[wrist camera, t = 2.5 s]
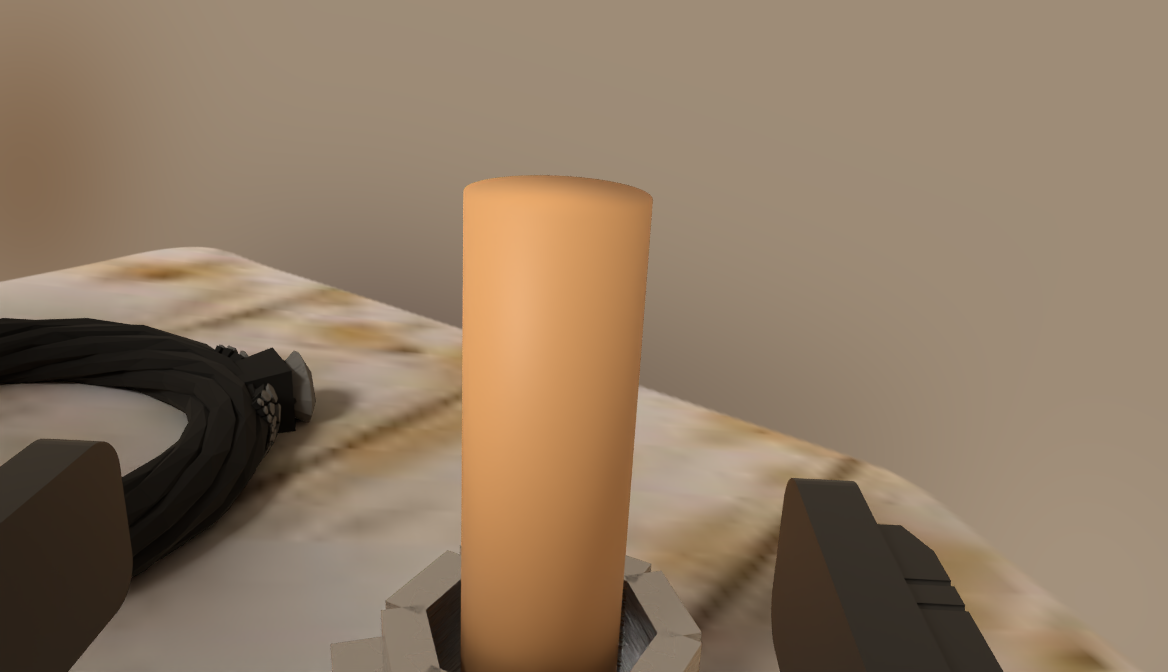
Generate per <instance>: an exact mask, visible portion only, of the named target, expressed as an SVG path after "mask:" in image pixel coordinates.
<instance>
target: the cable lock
mask: <svg viewBox="0 0 1168 672" xmlns="http://www.w3.org/2000/svg"><path fill="white" fill-rule="evenodd" d="M47 380H53V381H68V382H79V383H84V384H89V385H102V386H122V387H128V388H131V389H135V390H138V391H139V392H141V393H144V394H146V395H149V396H151V397H154V398H156V399H159V400H161V401H164V402H166V403H169V404H171V405H173V406H175V407H176V408H178V409H180V410H181V411H183V412H185V413H186V415H187V418H188V424H187V426H186V428H185V430H184V432H183V433H182V435H181V437H180V439H179V441H177V442H176V443H175V444H174V445H172V446H171V447H170V448H169V449H167V450H166V451H165V452H163V453H162V454H161V455H160V456H158V457H156V458H155V459H153V460H151V461H149V462H148V463H146V464H144V465H143V466H141V467H139V468H137V469H136V470H134V471H132V472H131V473H129V474H127V475H125V476H124V477H122V484H123V491H124V498H125V505H126V512H127V520H128V527H129V534H130V541H131V548H132V557H133V568H132V576H131V577H133V576H135V575H137V574H139V573H141V572H142V571H144V570H146V569H147V568H148V567H149V566H150V565H152V564H153V563H154V562H156V561H158V560H159V559H161V558H163V557H164V556H166V555H167V554H169V553H170V552H172V551H173V550H175V549H176V548H178V547H179V546H181V545H182V544H184V543H185V542H187V541H188V540H190V539H191V538H193V537H194V536H196V535H197V534H199V533H200V532H202V531H203V530H205V529H206V528H208V527H209V526H211V525H212V524H214V523H215V522H216V521H217V520H218V519H219V518H220V517H221V516H222V515H223V514H224V513H225V512H226V511H227V510H228V509H229V507H230V506H231V504H232V503H233V502H234V500H235V499H236V498H237V496H238V495H239V494H240V492H241V491H242V490H243V488H244V487H245V486H246V484H247V483H248V481H249V480H250V478H251V476H252V475H253V474H254V473H255V471H256V468H257V467H258V465H259V463H260V462H261V460H262V458H263V457H265V455H266V454H267V453H268V450H269V449H270V448H271V446H272V445H273V443H274V442H273V441H274V440H275V438H276V436H277V433H283V432H291V431H296V430H295V418H297V419H299V420H301V421H304V422H309V420H310V418H311V416H312V413H313V409H314V406H315V402H316V399H315V393H314V387H313V381H312V374H311V371H310V370H309V368H308V366H307V365H306V363H305V362H304V360H303V359H302V357H301V355H300V354H299V353H298V352H296V351H293V352H292V353H291V354H290V356H289V357H288V358H287V359H286V360H285V361H284V360H282V358H281V357H280V356H279V355H278V354H277V352H276V351H275V350H274V349H273V348H270V349H267V350H265V351H262V352H259V353H257V354H254V355H252V356H248V355H247V354H246V352H244V351H241V352H240V354H238V352H237V350H236V348H233V347H231V346H228V348H225V347H224V346H223V345H219V346H217V347H216V349H215V350H214V349H213V348H211V347H210V346H208V345H207V344H204V343H201V342H198V341H194V340H191V339H188V338H184V337H181V336H178V335H175V334H171V333H168V332H165V331H161V330H158V329H155V328H152V327H148V326H145V325H130V324H123V323H117V322H110V321H103V320H97V319H90V318H77V319H49V320H26V319H10V318H1V319H0V384H1V383H6V384H15V383H28V382H37V381H47Z"/></svg>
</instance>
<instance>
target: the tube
mask: <svg viewBox="0 0 1168 672" xmlns="http://www.w3.org/2000/svg"><path fill="white" fill-rule="evenodd" d="M463 197H464V198H463V200H464V202H463V204H464V205H463V355H462V516H461V672H617V659H618V646H619V633H620V620H621V607H622V594H623V581H624V568H625V555H626V542H627V529H628V516H629V503H630V490H631V477H632V464H633V451H634V438H635V425H636V412H637V399H638V386H639V373H640V360H641V346H642V334H643V320H644V307H645V294H646V282H647V269H648V255H649V243H650V230H651V217H652V204H653V199H652V197H651V195H650V194H648V193H647V192H645V191H643V190H641V189H638V188H635V187H632V186H629V185H625V184H621V183H616V182H611V181H605V180H599V179H591V178H582V177H571V176H570V177H569V176H550V175H528V176H510V177H498V178H492V179H486V180H482V181H478V182H474V183H472V184H470V185H468V186H466V187H465V188H464V194H463Z"/></svg>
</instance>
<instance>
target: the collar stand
mask: <svg viewBox="0 0 1168 672" xmlns="http://www.w3.org/2000/svg"><path fill="white" fill-rule="evenodd" d="M381 627H382V637H376V638H369V639H362V640H356V641H349V642H342V643H336V644H331V659H332V672H461V546H460V555H459V554H457V553H454V552H451V551H448V550H447V551H446V552H445V553H444V554H442V555H441V556H440V557H439V558H438V559H436V560H435V561H434V562H433V563H431V564H430V565H429V566H428V567H427V568H425V569H424V570H423V571H422V572H420V573H419V574H418V575H417V576H415V577H414V578H413V579H412V580H411V581H409V582H408V583H407V584H406V585H404V586H403V587H402V588H401V589H399V590H398V591H397V592H396V593H395V594H393V595H392V596H391V597H390V598H388V599H387V600H386V610H381ZM700 641H701V631H700V629H699V628H698V626H697V625H696V623H695V622H694V620H693V618H692V617H691V615H690V614H689V612H688V611H687V609H686V608H685V606H684V605H683V603H682V602H681V600H680V599H679V597H678V595H677V594H676V592H675V591H674V589H673V588H672V586H671V585H670V583H669V582H668V580H667V579H666V577H665V576H664V574H663V572H662V571H656V572H651V564H650V563H647V562H644V561H641V560H638V559H635V558H632V557H629V556H626V555H625V568H624V581H623V594H622V607H621V620H620V633H619V646H618V659H617V672H699V664H700V655H701V647H702V642H700Z"/></svg>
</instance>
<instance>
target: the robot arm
mask: <svg viewBox="0 0 1168 672" xmlns="http://www.w3.org/2000/svg"><path fill="white" fill-rule="evenodd" d="M132 568H133V557H132V548H131V541H130V534H129V527H128V520H127V512H126V505H125V498H124V491H123V484H122V477H121V470H120V463H119V459H118V456H117V453H116V451H115V449H114V448H113V447H112V445H110V444H109V443H107V442H100V441H80V440H60V439H39V440H36V441H35V442H33V443H31V444H30V445H29V446H27V447H26V448H25V449H23V450H22V451H21V452H19V453H18V454H17V455H15V456H14V457H13V458H11V459H10V460H9V461H7V462H6V463H5V464H3V465H2V466H1V467H0V672H68V671H69V670H70V669H71V667H72V666H73V665H74V664H75V662H76V661H77V660H78V659H79V658H80V656H81V655H82V654H83V653H84V651H85V650H86V649H87V648H88V647H89V645H90V644H91V643H92V642H93V641H94V639H95V638H96V637H97V636H98V634H99V633H100V632H101V631H102V630H103V628H104V627H105V626H106V625H107V624H108V622H109V621H110V620H111V619H112V617H113V616H114V615H115V614H116V613H117V611H118V610H119V608H120V607H121V605H122V603H123V602H124V600H125V597H126V595H127V592H128V589H129V586H130V582H131V576H132ZM771 619H772V635H773V642H774V648H775V652H776V656H777V660H778V664H779V669H780V672H1003V670H1002V668H1001V667H1000V665H999V663H998V662H997V660H996V658H995V656H994V655H993V653H992V651H991V649H990V648H989V646H988V644H987V643H986V641H985V639H984V637H983V636H982V634H981V632H980V630H979V629H978V627H977V625H976V623H975V622H974V620H973V618H972V617H971V615H970V613H969V612H967V611H965V604H964V603H963V601H962V599H961V598H960V596H959V594H958V592H957V591H956V589H955V587H954V586H951V580H950V579H949V577H948V575H947V573H946V572H945V570H944V568H943V566H942V565H941V563H940V561H939V559H938V558H937V556H936V554H935V553H934V551H933V550H931V549H930V548H929V547H928V546H926V545H925V544H924V543H923V542H921V541H920V540H919V539H918V538H916V537H915V536H914V535H913V534H911V533H910V532H909V531H907V530H906V529H905V528H904V527H902V526H901V525H881V524H877V523H876V521H875V519H874V517H873V515H872V513H871V511H870V509H869V507H868V505H867V503H866V501H865V499H864V497H863V495H862V493H861V491H860V489H859V487H858V485H857V484H856V483H855V482H854V481H840V480H821V479H801V478H791V479H790V480H789V481H788V484H787V486H786V490H785V495H784V502H783V510H782V518H781V526H780V534H779V542H778V550H777V558H776V566H775V574H774V582H773V591H772V607H771Z"/></svg>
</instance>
